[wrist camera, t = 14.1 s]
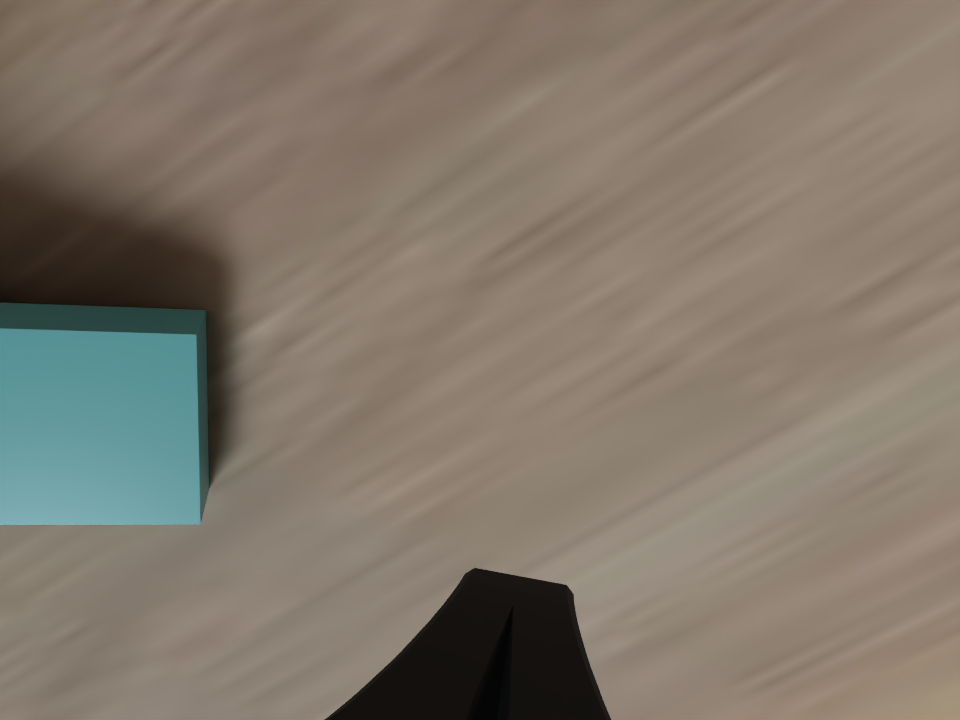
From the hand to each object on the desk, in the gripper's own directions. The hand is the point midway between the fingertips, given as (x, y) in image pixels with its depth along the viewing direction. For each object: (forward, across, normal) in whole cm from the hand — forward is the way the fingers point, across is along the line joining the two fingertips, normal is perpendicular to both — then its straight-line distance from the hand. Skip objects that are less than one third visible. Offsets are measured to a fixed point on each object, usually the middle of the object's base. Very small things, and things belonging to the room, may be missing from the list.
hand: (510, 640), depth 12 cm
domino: (+10, +9, +2) cm, 13 cm away
